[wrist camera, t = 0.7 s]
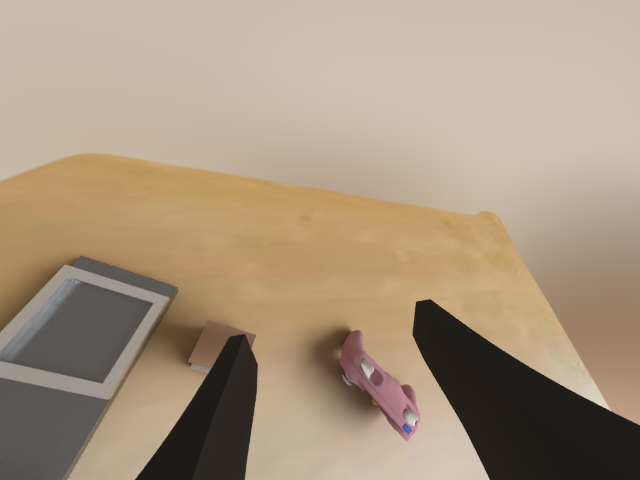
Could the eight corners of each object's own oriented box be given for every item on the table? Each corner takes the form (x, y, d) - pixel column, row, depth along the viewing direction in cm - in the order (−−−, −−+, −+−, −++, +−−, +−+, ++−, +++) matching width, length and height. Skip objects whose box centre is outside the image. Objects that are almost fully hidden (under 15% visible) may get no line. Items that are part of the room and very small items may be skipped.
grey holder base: (-41, 662, 12) (-225, 880, 7) (-280, 668, 10) (-781, 976, 5) (178, 290, 23) (171, 268, 18) (86, 260, 21) (50, 226, 16)
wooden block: (233, 379, 21) (239, 381, 17) (188, 368, 20) (185, 367, 16) (247, 341, 23) (256, 335, 19) (207, 329, 22) (207, 320, 18)
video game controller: (326, 352, 27) (335, 376, 21) (353, 324, 28) (371, 338, 21) (384, 418, 27) (414, 465, 20) (411, 387, 28) (447, 423, 21)
